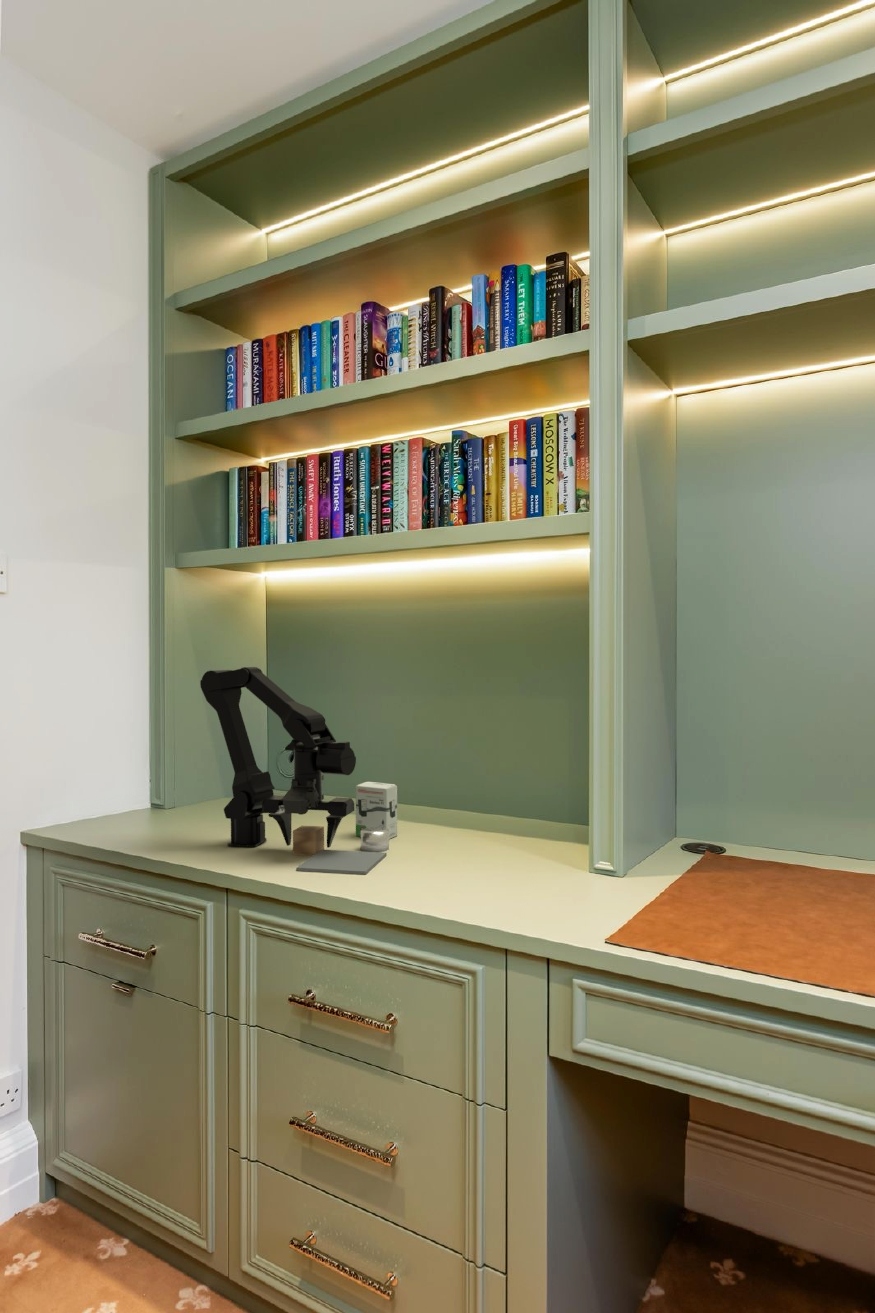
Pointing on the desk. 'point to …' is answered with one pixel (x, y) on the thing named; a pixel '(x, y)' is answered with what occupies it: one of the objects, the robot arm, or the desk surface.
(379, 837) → the tin
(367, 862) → the mat
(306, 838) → the walnut block
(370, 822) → the ink box
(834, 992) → the desk surface
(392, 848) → the desk surface
